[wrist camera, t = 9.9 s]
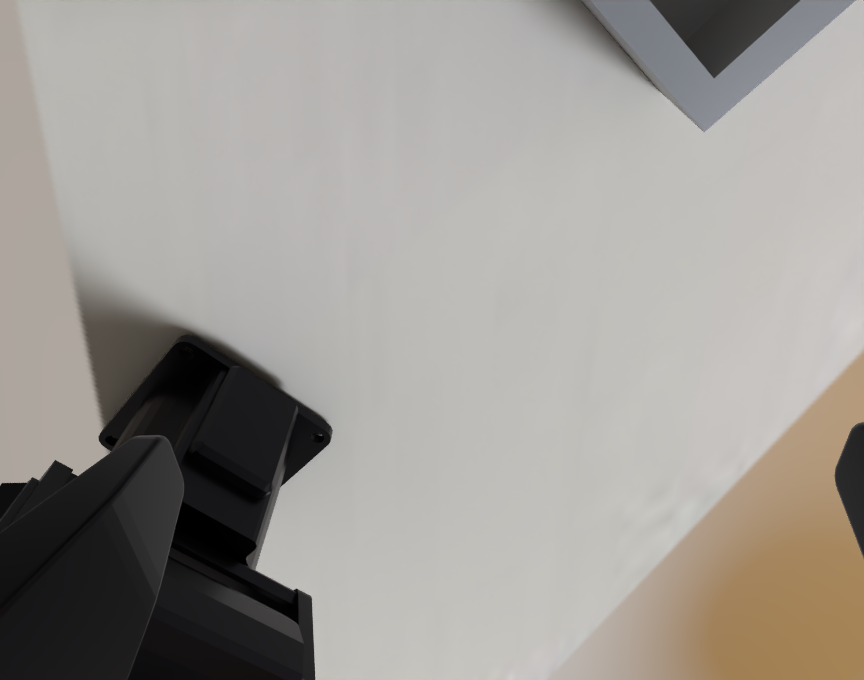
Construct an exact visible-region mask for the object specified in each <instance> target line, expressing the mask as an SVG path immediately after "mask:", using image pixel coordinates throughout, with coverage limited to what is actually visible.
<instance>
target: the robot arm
mask: <svg viewBox="0 0 864 680" xmlns="http://www.w3.org/2000/svg"><path fill="white" fill-rule="evenodd" d="M184 348H189V349H191V350H192V351H193V352H194V353H189V352H187V351H186V350H185V349H184ZM314 433H320V434H322V436H318V435H315V434H314ZM114 437H116V438H114ZM331 437H332V428H331V426H330V425H329V424H328V423H326V422H325V421H323V420H322V419H320V418H319V417H317V416H316V415H314V414H312V413H311V412H309V411H308V410H306V409H305V408H303V407H302V406H300V405H299V404H297V403H296V402H294V401H293V400H291V399H290V398H288V397H287V396H285V395H284V394H282V393H281V392H279V391H278V390H276V389H275V388H273V387H272V386H270V385H269V384H267V383H265V382H264V381H262V380H261V379H259V378H258V377H256V376H255V375H253V374H252V373H250V372H249V371H247V370H246V369H244V368H243V367H241V366H240V365H238V364H237V363H235V362H234V361H232V360H231V359H229V358H228V357H226V356H225V355H223V354H222V353H220V352H218V351H217V350H215V349H214V348H212V347H211V346H209V345H208V344H206V343H205V342H203V341H202V340H200V339H199V338H197V337H195V336H191V335H184V336H181V337H180V338H178V339H177V341H176V342H175V343H174V344H173V345H172V347H171V348H170V349H169V350H168V351H167V353H166V354H165V355H164V356H163V357H162V359H161V360H160V361H159V362H158V363H157V365H156V366H155V367H154V368H153V369H152V371H151V372H150V373H149V374H148V375H147V377H146V378H145V379H144V380H143V381H142V383H141V384H140V385H139V386H138V387H137V389H136V390H135V391H134V392H133V393H132V395H131V396H130V397H129V398H128V400H127V401H126V402H125V403H124V404H123V406H122V407H121V408H120V409H119V410H118V412H117V413H116V414H115V415H114V416H113V418H112V419H111V420H110V421H109V422H108V424H107V425H106V426H105V427H104V429H103V430H102V432H101V433H100V435H99V442H100V443H101V444H102V445H103V446H104V447H105V448H107V449H109V450H110V451H111V452H110V454H108V455H107V456H105V457H104V458H103V459H101V460H100V461H99V462H97V463H96V464H94V465H93V466H92V467H90V468H89V469H87V470H86V471H85V472H83V473H82V474H81V475H79V476H77V475H75V474H73V473H72V471H73V469H71V468H69V467H67V466H65V465H63V464H62V463H59V462H58V461H56V460H55V461H54V462H53V464H52V465H51V466H50V467H49V469H48V470H47V471H46V472H45V474H44V475H43V476H42V477H41V479H40V480H37V479H35V478H31V480H30V481H28V482H27V483H2V484H1V486H0V680H315V663H314V641H313V618H312V598H311V596H310V595H308V594H306V593H304V592H302V591H300V590H298V589H295V590H292V589H290V588H288V587H286V586H284V585H282V584H280V583H278V582H277V581H275V580H273V579H271V578H269V577H267V576H265V575H263V574H261V573H260V572H258V571H256V570H255V569H256V566H257V562H258V559H259V556H260V553H261V549H262V546H263V543H264V539H265V536H266V533H267V530H268V526H269V523H270V520H271V516H272V513H273V510H274V506H275V503H276V500H277V497H278V493H279V490H280V487H281V486H282V485H283V484H285V483H286V482H287V481H288V480H289V479H290V478H291V477H292V476H294V475H295V474H296V473H297V472H298V471H299V470H300V469H301V468H303V467H304V466H305V465H306V464H307V463H308V462H309V461H310V460H312V459H313V458H314V457H315V456H316V455H317V454H318V453H319V452H321V451H322V450H323V449H324V448H325V447H326V446H327V445H328V444H329V443H330V441H331ZM835 482H836V487H837V490H838V492H839V495H840V498H841V500H842V503H843V505H844V508H845V511H846V513H847V516H848V518H849V521H850V524H851V526H852V528H853V532H854V534H855V537H856V539H857V542H858V544H859V547H860V550H861V552H862V555H863V557H864V422H862V423H858V424H856V425H855V426H854V427H853V428H852V429H851V431H850V434H849V436H848V439H847V441H846V444H845V446H844V449H843V451H842V453H841V456H840V458H839V461H838V463H837V466H836V469H835Z"/></svg>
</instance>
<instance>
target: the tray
mask: <svg viewBox="0 0 864 680" xmlns="http://www.w3.org/2000/svg"><path fill="white" fill-rule="evenodd" d="M581 1H582V2H583V4H584V5H585V6H586V7H587V8H588V9H589V10H590V12H591V13H592V14H593V15H594V16H595V17H596V18H597V20H598V21H599V22H600V23H601V24H602V25H603V26H604V28H605V29H606V30H607V31H608V32H609V33H610V35H611V36H612V37H613V38H614V39H615V40H616V41H617V43H618V44H619V45H620V46H621V47H622V48H623V49H624V51H625V52H626V53H627V54H628V55H629V56H630V57H631V59H632V60H633V61H634V62H635V63H636V64H637V65H638V67H639V68H640V69H641V70H642V71H643V72H644V74H645V75H646V76H647V77H648V78H649V79H650V80H651V82H652V83H653V84H654V85H655V86H656V87H657V88H658V90H659V91H660V92H661V93H662V94H663V95H664V96H665V97H666V98H667V99H669V100H670V101H671V102H672V103H673V104H674V105H675V106H676V107H677V108H678V109H679V110H681V111H682V112H683V113H684V114H685V115H686V116H687V117H688V118H689V119H690V120H691V121H693V122H694V123H695V124H696V125H697V126H698V127H699V128H700V129H701V130H702V131H703V132H705V131H706V130H707V129H709V128H710V127H711V126H712V125H713V124H714V123H715V122H717V121H718V120H719V119H720V118H721V117H722V116H724V115H725V114H726V113H727V112H728V111H729V110H730V109H732V108H733V107H734V106H735V105H736V104H737V103H738V102H740V101H741V100H742V99H743V98H744V97H745V96H746V95H748V94H749V93H750V92H751V91H752V90H753V89H755V88H756V87H757V86H758V85H759V84H760V83H761V82H763V81H764V80H765V79H766V78H767V77H768V76H769V75H771V74H772V73H773V72H774V71H775V70H776V69H777V68H779V67H780V66H781V65H782V64H783V63H784V62H786V61H787V60H788V59H789V58H790V57H791V56H792V55H794V54H795V53H796V52H797V51H798V50H799V49H800V48H802V47H803V46H804V45H805V44H806V43H807V42H808V41H810V40H811V39H812V38H813V37H814V36H815V35H817V34H818V33H819V32H820V31H821V30H822V29H823V28H825V27H826V26H827V25H828V24H829V23H830V22H831V21H833V20H834V19H835V18H836V17H837V16H838V15H839V14H841V13H842V12H843V11H844V10H845V9H846V8H848V7H849V6H850V5H851V4H852V3H853V2H854V1H856V0H581Z"/></svg>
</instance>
